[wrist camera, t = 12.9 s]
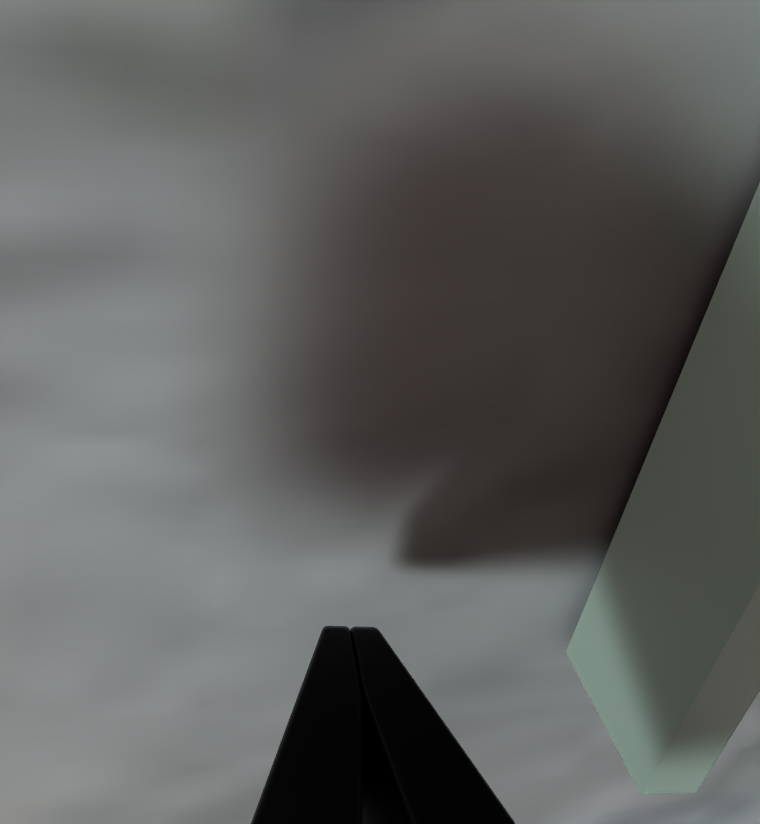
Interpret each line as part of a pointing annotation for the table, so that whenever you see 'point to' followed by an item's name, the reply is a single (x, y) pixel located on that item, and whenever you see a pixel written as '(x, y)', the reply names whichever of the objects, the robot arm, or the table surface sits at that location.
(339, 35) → the table surface
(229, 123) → the table surface
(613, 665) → the tray
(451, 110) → the table surface
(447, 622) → the table surface
